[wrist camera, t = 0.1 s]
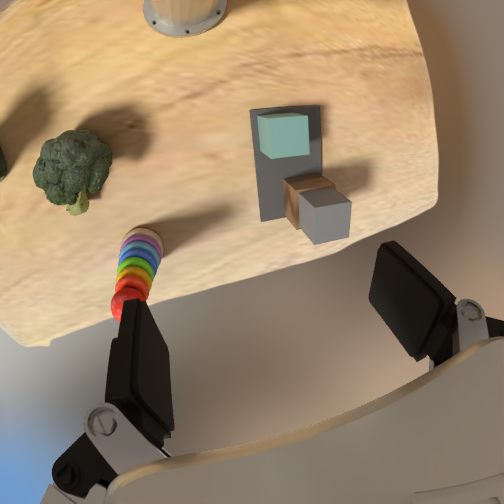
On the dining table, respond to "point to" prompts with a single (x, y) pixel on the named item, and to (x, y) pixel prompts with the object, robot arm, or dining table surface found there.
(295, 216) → the tower base
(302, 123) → the teal cube
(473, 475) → the robot arm
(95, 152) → the vegetable
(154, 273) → the stacking toy
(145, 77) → the dining table surface
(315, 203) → the tower mid
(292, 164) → the mat
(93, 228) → the dining table surface
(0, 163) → the coffee jar
